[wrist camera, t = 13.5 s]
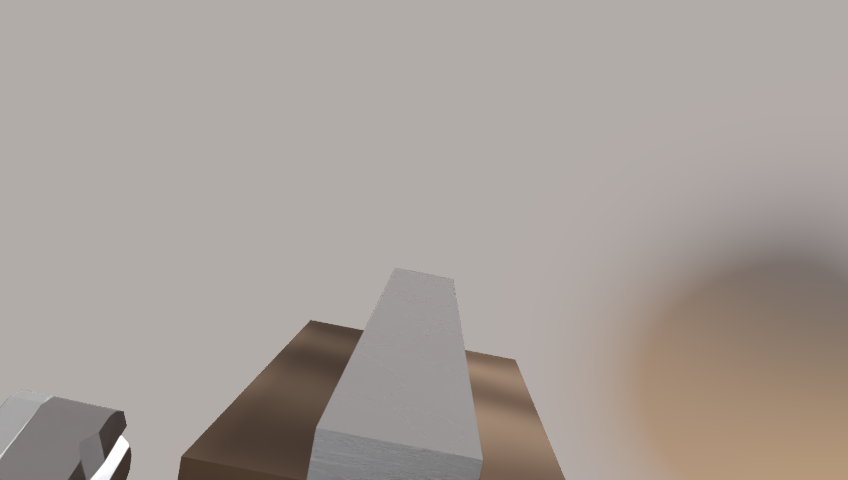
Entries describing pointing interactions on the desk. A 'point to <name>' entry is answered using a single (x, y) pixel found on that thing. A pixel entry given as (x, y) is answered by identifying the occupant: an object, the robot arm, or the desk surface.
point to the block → (403, 393)
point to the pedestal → (308, 398)
